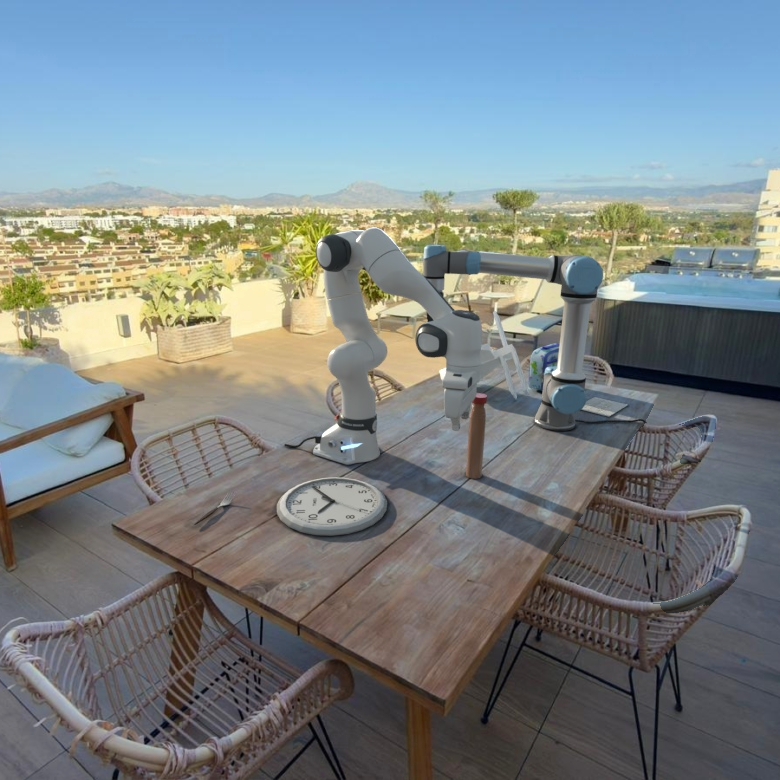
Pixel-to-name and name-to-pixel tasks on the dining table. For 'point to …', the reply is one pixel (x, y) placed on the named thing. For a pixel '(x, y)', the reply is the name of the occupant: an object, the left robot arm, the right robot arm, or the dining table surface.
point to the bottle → (476, 441)
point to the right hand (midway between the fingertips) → (430, 350)
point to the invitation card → (603, 406)
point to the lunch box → (542, 364)
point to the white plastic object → (499, 360)
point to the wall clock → (331, 506)
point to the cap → (480, 399)
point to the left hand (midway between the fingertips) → (460, 423)
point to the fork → (223, 503)
